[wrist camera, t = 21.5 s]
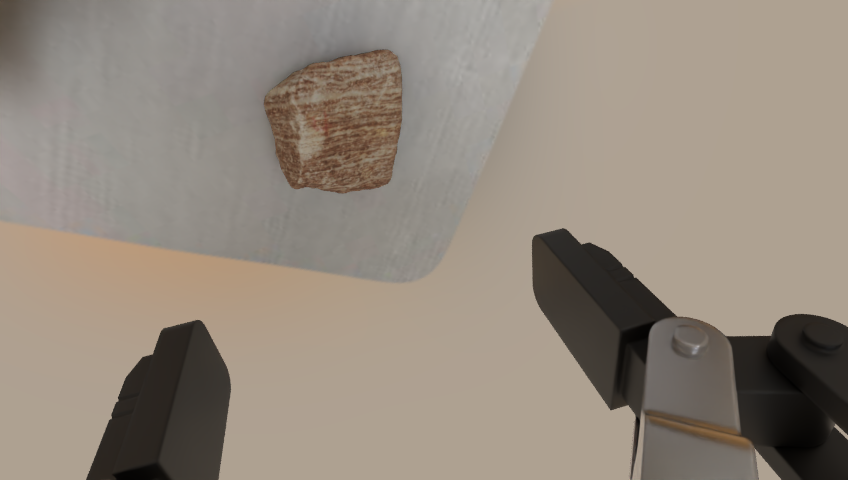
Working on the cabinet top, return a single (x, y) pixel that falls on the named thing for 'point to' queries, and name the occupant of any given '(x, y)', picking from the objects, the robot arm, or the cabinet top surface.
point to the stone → (338, 122)
